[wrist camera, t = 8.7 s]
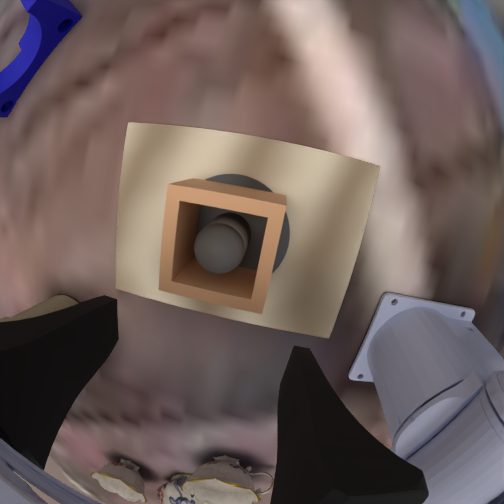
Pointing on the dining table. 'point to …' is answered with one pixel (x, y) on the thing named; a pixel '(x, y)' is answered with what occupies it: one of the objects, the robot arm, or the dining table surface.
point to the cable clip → (35, 46)
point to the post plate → (247, 219)
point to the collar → (184, 235)
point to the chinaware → (186, 483)
